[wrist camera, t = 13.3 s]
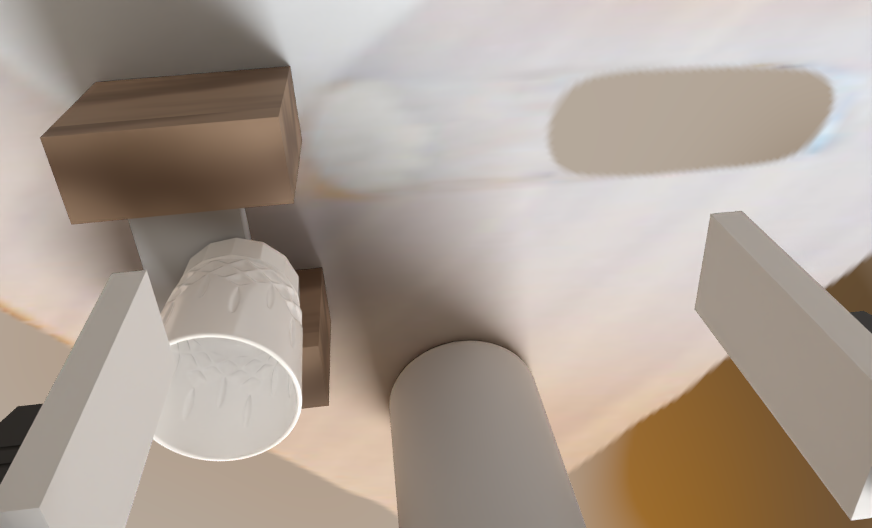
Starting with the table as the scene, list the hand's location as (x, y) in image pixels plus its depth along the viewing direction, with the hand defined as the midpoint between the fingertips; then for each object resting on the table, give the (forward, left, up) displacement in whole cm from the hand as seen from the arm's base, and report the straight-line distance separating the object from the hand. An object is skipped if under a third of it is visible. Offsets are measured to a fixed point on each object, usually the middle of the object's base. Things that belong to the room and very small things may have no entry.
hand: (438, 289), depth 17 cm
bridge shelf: (+13, -12, -32) cm, 36 cm away
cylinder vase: (+32, +4, -32) cm, 45 cm away
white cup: (+13, -10, -22) cm, 28 cm away
